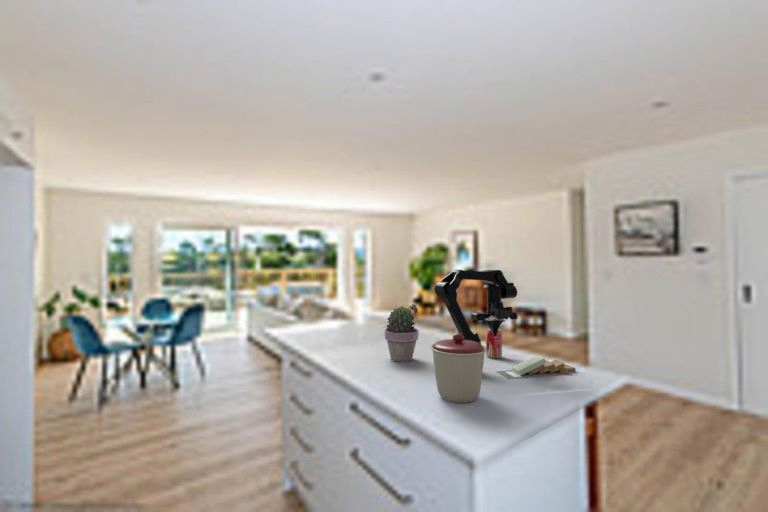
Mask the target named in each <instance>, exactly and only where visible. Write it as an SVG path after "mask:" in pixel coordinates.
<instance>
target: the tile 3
mask: <svg viewBox="0 0 768 512" xmlns="http://www.w3.org/2000/svg"><path fill="white" fill-rule="evenodd" d="M545 361H546V363H545V364H544V367H545V368H544V369H542V370H540V371H538V372H536V373H538V374H540V375H541V374H543V373H545V372H547V371H549V370H551V369H552V368H554V367H555V365H554V363H552V361H549V360H546V359H545Z"/></svg>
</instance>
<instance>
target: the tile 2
mask: <svg viewBox="0 0 768 512" xmlns="http://www.w3.org/2000/svg"><path fill="white" fill-rule="evenodd" d="M544 368H545V367H544V364H543V365H541V366H539V367H537V368H535V369H533V370H531V371H529V372H527V373H526V374H528V375H532V374H534V373H536V372H538V371H540V370H542V369H544Z"/></svg>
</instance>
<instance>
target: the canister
mask: <svg viewBox="0 0 768 512" xmlns="http://www.w3.org/2000/svg"><path fill="white" fill-rule="evenodd" d="M463 339H464V336H463V335H462V334H460V333H459V332H456V333H454V334H453V336H452V338H451V339H449V338H447V339H443V340H438V341H436V342H435V343H433V344H431V345H430V350H432V358H433V367H434V375H435V381H436V389H437V392H438V395H439V396H440V397H441V398H442V399H443V400H445V401H449V402H451V403H459V404H461V403H463V404H465V403H466V404H467V403H471V402H474V401H476V400H477V399H478V398H479V396H480V394H481V387H482V379H483V373H484V372H483V370H484V362H485V354H486V351H487V349H486V346H484V345H483V344H482V343H481V344H480V343H478V342H475V341H470V340H463Z"/></svg>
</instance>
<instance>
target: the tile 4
mask: <svg viewBox="0 0 768 512" xmlns="http://www.w3.org/2000/svg"><path fill="white" fill-rule="evenodd" d="M551 362H552V363H554V365H555V367H554V368H552V369H551V370H549V371H547V372H548V373H550V374H551V373H553V372H555V371H557V370H559V369H561V368H563V367H565V365H566V364H565V363H564V362H563V361H560V360H557V359H554V360H552V361H551Z"/></svg>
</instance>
